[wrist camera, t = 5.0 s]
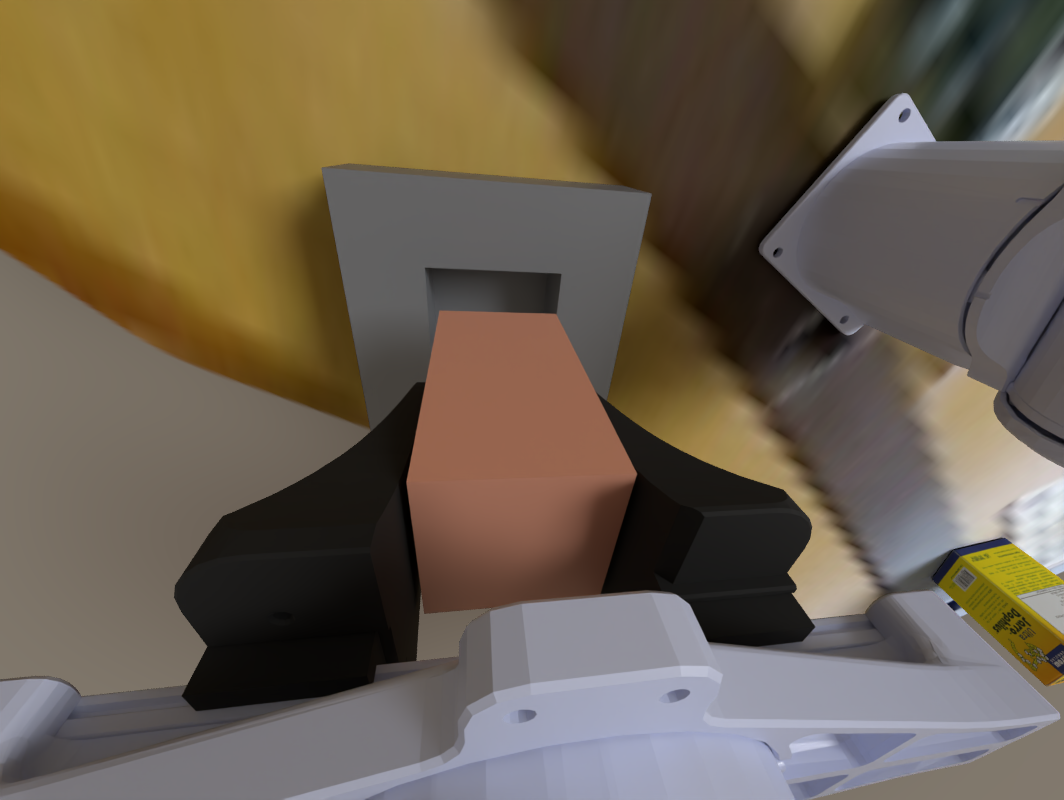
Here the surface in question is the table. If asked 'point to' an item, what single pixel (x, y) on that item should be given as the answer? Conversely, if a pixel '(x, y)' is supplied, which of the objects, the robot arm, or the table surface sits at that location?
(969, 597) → the supplement box
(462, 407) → the peg
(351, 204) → the socket
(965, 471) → the table surface
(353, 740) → the robot arm
